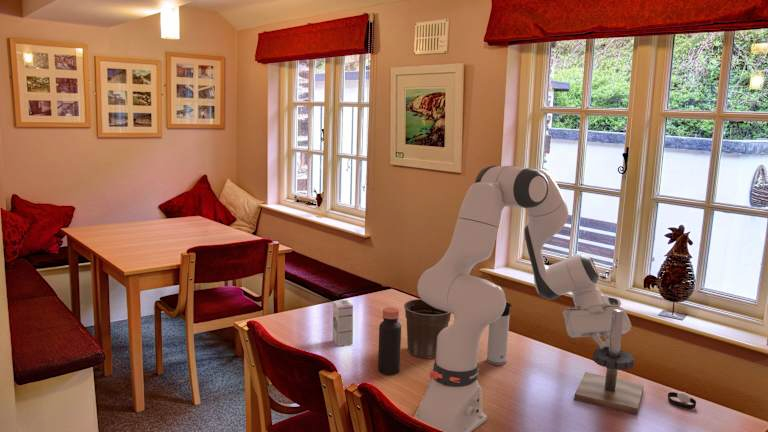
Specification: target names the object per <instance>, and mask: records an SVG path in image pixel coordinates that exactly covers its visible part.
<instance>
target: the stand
mask: <svg viewBox="0 0 768 432" xmlns="http://www.w3.org/2000/svg"><path fill="white" fill-rule="evenodd" d="M605 379H606V375H601V374H595V373H592V372H587V371H585V372H584V374H583V376H582V378H581V380H580V382H579V384H578V386H577V388H576V390H575V392H574V394H573V395H574V396H573V401H576V402H580V403H585V404H588V405H593V406H596V407H602V408H606V409H610V410H614V411H618V412H621V411H623V412H622V413H627V414H631V415H635V416H637V415H638V413H639V408H640V404H641V401H642V397H643V393H644V388H645V384H642V383H637V382H634V381H628V380H625V379H619V378H617V380H616V389H615V391H607V390H605Z"/></svg>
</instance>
